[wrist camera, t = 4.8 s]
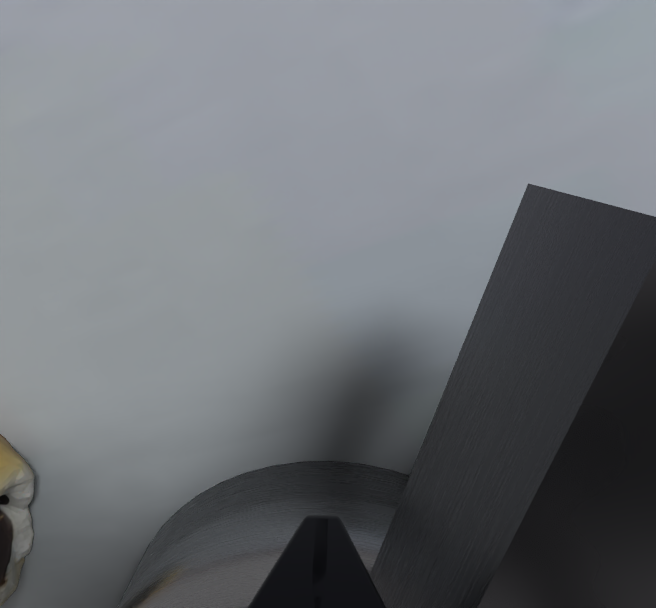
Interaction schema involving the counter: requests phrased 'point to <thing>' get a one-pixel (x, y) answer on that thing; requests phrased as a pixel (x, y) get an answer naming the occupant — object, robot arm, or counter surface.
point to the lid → (542, 428)
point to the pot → (258, 531)
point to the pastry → (14, 517)
